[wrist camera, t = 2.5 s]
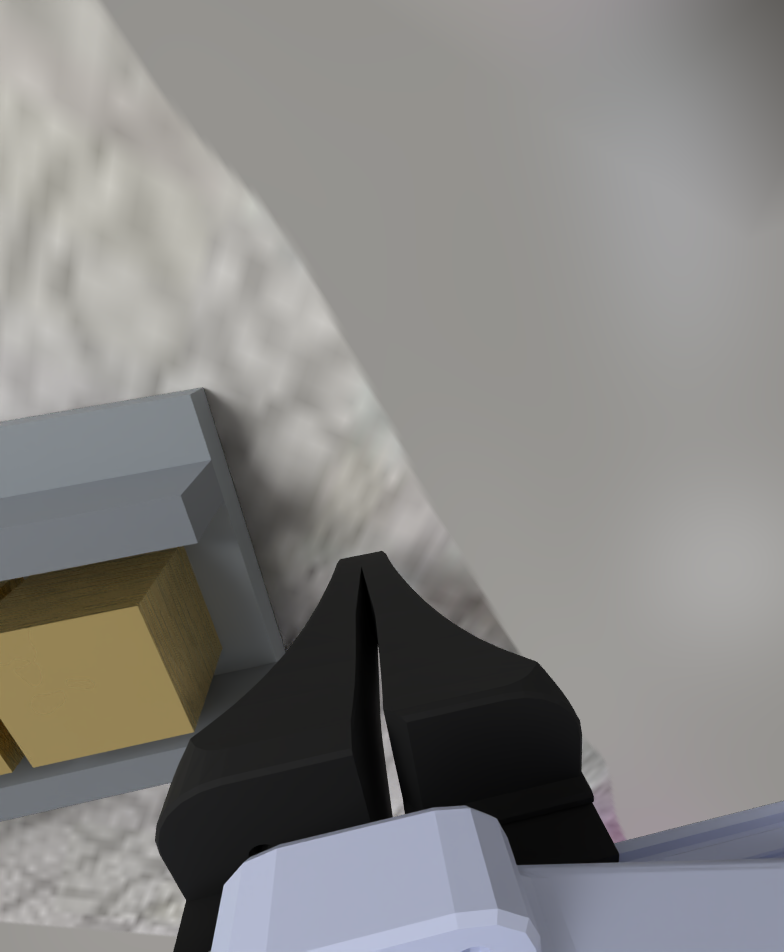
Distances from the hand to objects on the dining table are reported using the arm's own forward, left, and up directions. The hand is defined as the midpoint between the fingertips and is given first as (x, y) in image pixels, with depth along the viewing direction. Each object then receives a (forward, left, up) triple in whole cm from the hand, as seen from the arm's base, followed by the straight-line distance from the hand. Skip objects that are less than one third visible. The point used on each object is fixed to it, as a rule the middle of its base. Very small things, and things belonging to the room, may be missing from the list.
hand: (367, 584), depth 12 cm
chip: (0, +7, -1) cm, 7 cm away
